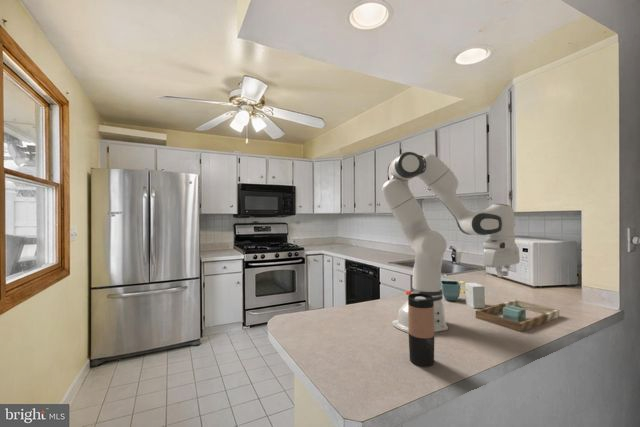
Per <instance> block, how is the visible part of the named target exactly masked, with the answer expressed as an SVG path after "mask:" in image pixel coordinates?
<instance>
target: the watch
mask: <svg viewBox="0 0 640 427" xmlns="http://www.w3.org/2000/svg"><path fill="white" fill-rule="evenodd" d="M465 283H466V281H462V280H461V281H459V284H460V285H461V284H463V285H464V286H465ZM460 293H465V290H464V291H463V290H462V289H461V287H460Z"/></svg>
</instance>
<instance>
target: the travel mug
mask: <svg viewBox="0 0 640 427" xmlns="http://www.w3.org/2000/svg"><path fill="white" fill-rule="evenodd" d="M407 296H408V297H407V301H408V333H407V334H408V349H409V360H410V362H411V363H412V364H413V365H415V366H418V367H423V368H429V367H432V366H433V365H434V363H435V332H434V299H433V297H432V296H430V295H427V294H418V293H417V294H410V295H407Z"/></svg>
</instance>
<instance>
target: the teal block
mask: <svg viewBox="0 0 640 427" xmlns="http://www.w3.org/2000/svg"><path fill="white" fill-rule="evenodd" d="M526 310H527V309H523V308H519V307H515V306H507V307H504V308H503V311H502V318H505V319H509V320H512V321H516V322H519V323H520V322H523V321H526V320H527V317H526V316H527V313H526V312H527V311H526Z"/></svg>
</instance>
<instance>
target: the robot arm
mask: <svg viewBox="0 0 640 427" xmlns="http://www.w3.org/2000/svg"><path fill="white" fill-rule="evenodd" d="M413 178H419V180H422V181H423V183H424V184H425V185H426V186H427V187H428V188H429V190H431V192H432V193H433V194H434V195H435V196H436V197H438V199H439V200H440V201H441V202H442V204H444V206H445V207H446V208H447V210H448V211H449V212H450V214H451V215H452V216H453V218H454V219H455V221H456V225H457V227H458V228H459V230H460V232H462V233H463V234H465V235H472V236H473V235H475V236H476V235H477V236H486V235H489V238H488V239H487V240H485V241H484V242H483V243H482V247H483V248H484V249H483V265H484V266H485V267H486V268H493V269H495V272H496V275H497V277H499V278H502V277H508V276H509V271H510V269H511V265H516V264H519V263H520V260H521V256H520V249H519V247H518V246H517V243H516V236H515V232H514V231H515V230H514V229H515V224H516V223H515V222H516V221H515V213H514V209H513V207H512V206H510V205H508V204H503V203H492V204H491V205H490V206H489V207H487V208H485V209H483V210H481V211H478V212H477V211H476V212H473V211H471V210H470V209H468V207H466V206H465V204H464V203H463V201H461V199H460V198H459V197H458V195H457V189H458V188H459V180H458V178H457V177H456V174H455V173H454V172H453V170H452V169H451V168H450V167H448V166H447V164H445V162H443V161H442V160H441V159H440V158H439V157H437V156H436V155H434V154H433V153H426V154H424V155H421V154H418V153H416V152H413V151H405V152H402V153H400V154H398V156H396V157H394V158H393V159H392V160H391V162H389V165H388V166H387V181H386V182H384V184H383V185H382V187H381V192H382V194H383V197H384V198H383V199H384V200H385V202H386V204H387V206H388V208H389V209H390V211H391V213H392V215H393V216H394V218H395V220H396V221H397V223H398V224H399V227H400V228H401V231H402V233H403V235H404V237H405V240H406V241H407V242H408V244H409V246H410V248H411V249H412V250H413V251H414V252H415V256H414V257H415V258H414V264H413V268H412V288H411V290H409V289H406V290H405V295H406V296H409V295H410V294H417V293H418V294H427V295H430V296H432V297H433V299H434V333H435V332H436V333H437V332H442V331H447V330H449V328H448V327H449V326H448V325H447V322H446V315H445V314H446V313H445V307H444V304H443V300H442V299H443V296H444V295H443V293H442V289H441V281H442V266H443V260H444V254H445V252H446V250H447V246H448V245H447V241H446V239H445V237H444V236H443V235H442V234H441V233H440V232H438V231H436V230H433V229H431V228H430V226H429V224H428V221H427V219H426V215H425V213H424V210H423V209H422V207H421V206H420V204H419V202H418V200H417V199H416V198H415V196H414V194H413V192H411V190H410V186H409V181H410V180H412V179H413ZM502 269H503V270H502ZM391 325H392V326H394V327H395V328H397V329H398V330H400V331H403V332H405V333H407V334H408V300H407V301H406V302H404V304H403V305H402V306H401V307H400V308H399V309H398V313H397V319H394V320H392V321H391Z"/></svg>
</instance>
